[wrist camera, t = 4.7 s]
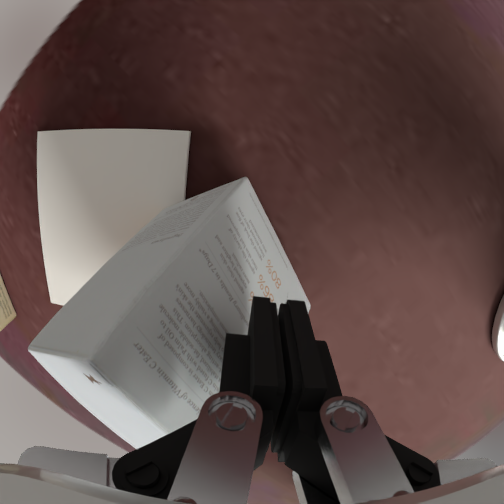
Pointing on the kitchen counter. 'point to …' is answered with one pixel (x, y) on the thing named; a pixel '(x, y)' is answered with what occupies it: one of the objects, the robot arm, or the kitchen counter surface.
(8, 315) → the skincare box
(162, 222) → the small box
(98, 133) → the mat
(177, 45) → the kitchen counter surface
